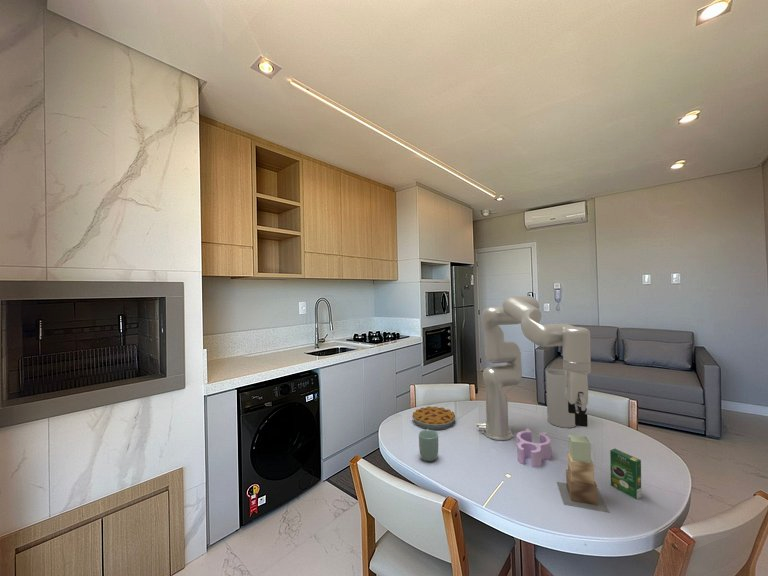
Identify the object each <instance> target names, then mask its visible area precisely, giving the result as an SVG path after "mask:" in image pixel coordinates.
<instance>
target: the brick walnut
mask: <svg viewBox="0 0 768 576" xmlns="http://www.w3.org/2000/svg"><path fill="white" fill-rule="evenodd" d="M565 477H566V478H565V480H566V481H565V483H566V484H567V490H568V493H569V496H570V499H571V501H575V502H580V503H586V504H592V505H597V506H598V500H597V488H598V485H597V482H596V480H594V482H595V484H589V483H583V482H577V481H572V479H571V477H570V474H569V472H568V468H566V470H565Z"/></svg>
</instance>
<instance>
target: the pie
mask: <svg viewBox="0 0 768 576" xmlns="http://www.w3.org/2000/svg"><path fill="white" fill-rule="evenodd" d="M411 416H412V417H411V418H413V421H414V423H415V424H416V425H417V426H419V427H421V428H423V429H426V430H433V431H439V430H445V429H447V428H450V427H451V426H452V425H453V423H454V421H455V420H456V414H455V412H454V411H451V409H446V408H444V407H442V406H441V407H438V406H431V405H429V406H426V407H420V408H418V409H416V410H415V411H413V413H412V415H411Z"/></svg>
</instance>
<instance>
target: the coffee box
mask: <svg viewBox="0 0 768 576" xmlns="http://www.w3.org/2000/svg"><path fill="white" fill-rule="evenodd" d="M609 455H610V460H609V461H610V465H609V466H610V486H611V487H613V489H614V488H615V489H616V490H618V491H620V492H622V493H624V494H625V495H628V496H629V497H631V498H633V499H634V500H638V499H641V497H642V460H641V459H639V458H637V457H635V456H632V455H630V454H629V453H626V452H624V451H622V450H619V449H617V448H612V449H610V452H609Z"/></svg>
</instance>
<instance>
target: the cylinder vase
mask: <svg viewBox="0 0 768 576" xmlns="http://www.w3.org/2000/svg"><path fill="white" fill-rule="evenodd" d="M545 376H546V377H545V383H546V403H547V404H546V407H547V408H546V410H547V411H546V412H547V415H546V417H547V421H548V423H550V424H551V425H553V426H554V427H558V428H564V429H565V428H567V429H568V428H569V429H571V428H574V427H577V426H576V425H575V414H573V413H569V412H568V400H567V398H566V396H565V370H563V369H548V370H546V371H545Z"/></svg>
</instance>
